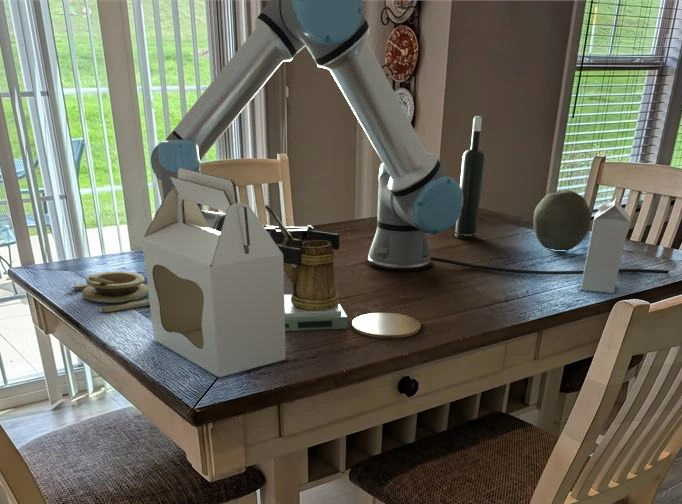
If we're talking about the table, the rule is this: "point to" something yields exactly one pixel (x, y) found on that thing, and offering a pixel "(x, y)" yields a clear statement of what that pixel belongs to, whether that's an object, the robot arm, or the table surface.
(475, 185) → the wine bottle
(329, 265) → the wooden mug
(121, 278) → the tableware set
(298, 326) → the kitchen scale
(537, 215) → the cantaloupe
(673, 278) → the table surface
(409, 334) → the golden round disc
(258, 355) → the gable box
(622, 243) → the milk carton
